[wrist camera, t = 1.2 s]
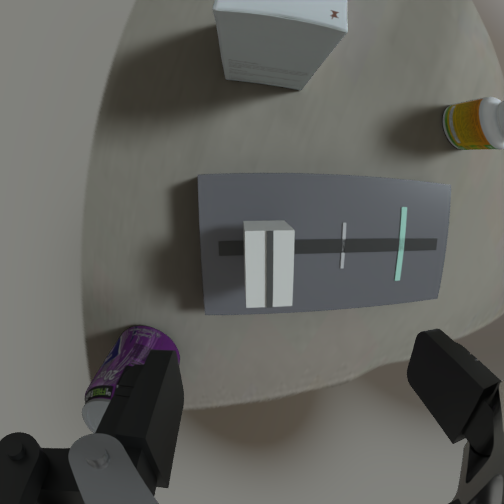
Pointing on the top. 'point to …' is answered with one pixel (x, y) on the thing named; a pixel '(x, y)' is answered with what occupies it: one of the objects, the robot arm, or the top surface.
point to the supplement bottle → (475, 124)
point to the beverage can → (121, 368)
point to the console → (326, 238)
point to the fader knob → (268, 263)
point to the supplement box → (278, 38)
